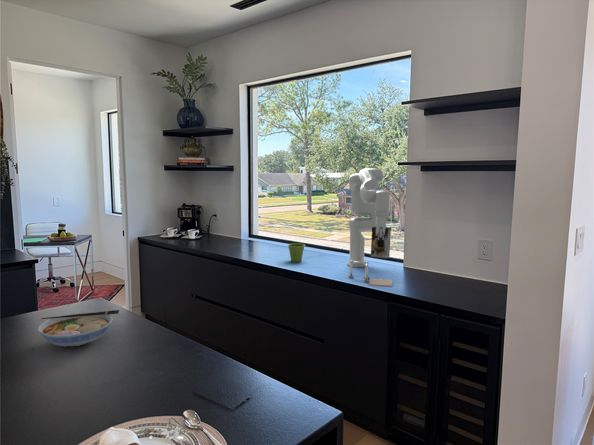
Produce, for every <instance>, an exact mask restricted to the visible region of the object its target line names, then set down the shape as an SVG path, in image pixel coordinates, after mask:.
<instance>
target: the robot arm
mask: <svg viewBox="0 0 594 445" xmlns="http://www.w3.org/2000/svg"><path fill="white" fill-rule="evenodd" d="M383 179H384V173H383V170H382V169H380V168H363V169H361V170H360V171H359V173H353V174H351V175H350V176H349V179H348V186H349V190H350V193H351V194H350V195H351V213H352V215H354V216H357V217H352V218H350V219H349V222H348V226H349V228H348V229H349V261H347V262H346V265H347V266H349V267H350V261H358V262H365V242H366V240H365V237H364V235H363V234H362V233H372V227H375V226H376V235H377V234H378V246H377V247H381V248H383V247H384V240H383V237H384V235H385V229H386V227H387V218H389V217H390V201H391V200H390V199H391V198H390V197H391V193H390V192H389V191H387V190H382V189H377V188H378V186H379V185H380V184H381V183H382V181H383ZM358 216H359V217H358ZM360 216H361V217H360ZM363 216H365V217H363ZM382 228H383V230H382ZM382 231H383V234H382ZM379 233H380V234H379ZM365 265H366V264H363V263H353V267H355V268H363V267H364V268H365Z"/></svg>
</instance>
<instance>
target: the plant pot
mask: <svg viewBox="0 0 594 445" xmlns="http://www.w3.org/2000/svg"><path fill="white" fill-rule="evenodd" d="M287 246H288V251H289V257H290V261H291V262H292V263H300V262H302V259H303V254H304V253H303V252H304V249H305V247H306V244H303V243H290V244H287Z"/></svg>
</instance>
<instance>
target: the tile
mask: <svg viewBox="0 0 594 445" xmlns="http://www.w3.org/2000/svg"><path fill="white" fill-rule="evenodd" d="M368 285H369V286H374V287H375V286H376V287H377V286H379V287H389V288H392V287H393V280H392V279H381V278H369V283H368Z"/></svg>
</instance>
